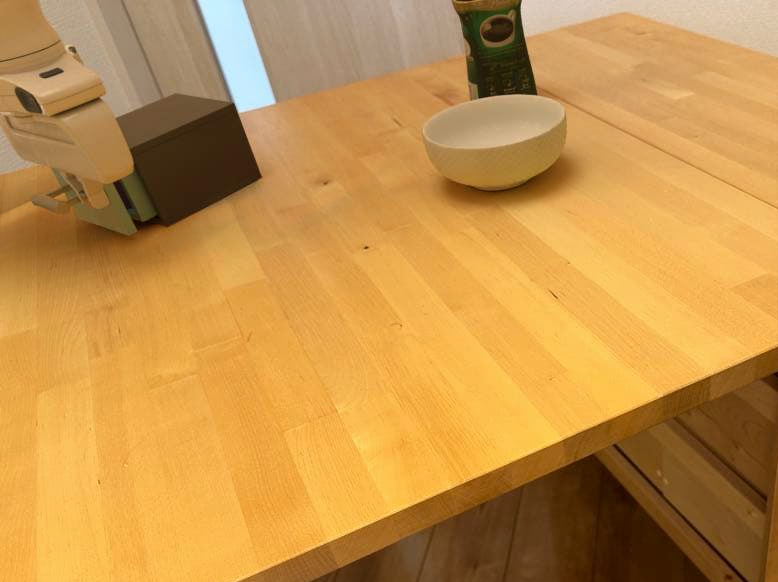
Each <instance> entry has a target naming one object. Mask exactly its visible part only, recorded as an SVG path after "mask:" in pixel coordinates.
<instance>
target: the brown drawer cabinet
mask: <svg viewBox="0 0 778 582" xmlns="http://www.w3.org/2000/svg"><path fill="white" fill-rule="evenodd" d="M237 109H238V108H237V106H236V103H235V102H232V101H226V100H219V99H213V98H208V97H202V96H196V95H195V96H194V95H188V94H183V93H173V94H169V95H168V96H165V97H163V98H159V99H158V100H155V101H153V102H151V103H148V104H147V105H146V104H145V105H143V106H141V107H139V108H136V109H134V110H131V111H129V112H127V113H124V114H122V115H119V116H117V117H115V118H116V120H117V123H118V125H119V127H120V129H121V131H122V133H123V136H124V138H125V140H126V143H127V145H128V147H129V150H130V152H131V155H132V158H133V162H134V167H135V169H136V171H137V173H138V176H139V178H140V180H141V182H142V184H143V186H144V188H145V190H146V192H147V194H148V196H149V198H150V200H151V202H152V204H153V206H154V208H155V210H156V213H157V215H156V216H154V217H152V218H150V219H148V220H146V221H145V222H150V223H152V224H154V225H155V224H156V225H159V226H161V227H165V228H168V227H171V226H173V225H174V224H176V223H178V222H180V221H181V220H183V219H186V218H187V217H189V216H191V215H193V214H195V213H197V212H199V211H201V210H202V209H205V208H206V207H208V206H210V205H212V204H214V203H216V202H218V201H219V200H221V199H223V198H225V197H227V196H229V195H231V194H234V193H236V192H237V191H239V190H241V189H243V188H245V187H246V186H248V185H250V184H252V183H254V182H256V181H258V180H260V179H262V178H263V177H262V173H261V170H260V168H259V164H258V162H257V159H256V157H255V154H254V152H253V149H252V146H251V144H250V141H249V138H248V136H247V133H246V130H245V127H244V126H243V125H244V124H243V123H242V122H243V121H242V119H241V117H240V115H239V112H238V110H237Z"/></svg>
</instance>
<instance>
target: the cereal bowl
mask: <svg viewBox="0 0 778 582" xmlns="http://www.w3.org/2000/svg"><path fill="white" fill-rule="evenodd" d="M567 121H568V120H567V113H566V110H565V107H564V105H562V103H560V102H559V101H557V100H555V99H553V98H549V97H547V96H543V95H542V96H541V95H537V96H536V95H503V96H494V97H487V98H481V99H477V100H472V101H471V100H468V101H464V102H461V103H458V104H454V105H452V106H449V107H447V108H444V109H443V110H440V111H439V112H437V113H435V114H433V115H432V116H431V117H429V118H428V119H427V120H426V121H425V122H424V124H423V126H422V130H421V131H422V132H421V133H422V140H423V144H424V148H425V152H426V154H427V156H428V159H429V162H431V164H432V165H433V167H434V168H435V169H436V170H437V172H439V173H440V175H442V176H444V177H445V178H446V179H449V180H451V181H453V182H455V183H457V184H462V185H466V186H472V187H473V188H475V189H478V190H481V191H502V190H504V191H505V190H509V189H513V188H516V187H519V186H521V185H523V184H525V183H527V182H529V181H530V180H531V179H532V178H534V177H536V176H537V175H539V174H541V173H543V172H544V171H546V170H547V169H549V168H550V167H552V165H553V164H554V163H555V162H556V161H557V160H558V159H559V157H560V156H561V154H562V152H563V150H564V148H565V145H566V141H567V133H568V129H567V128H568V123H567Z"/></svg>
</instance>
